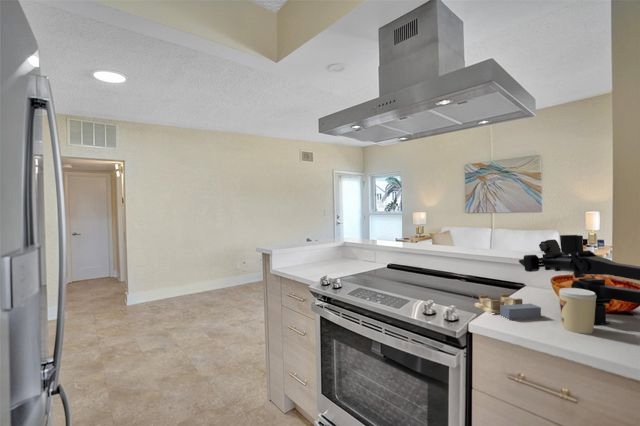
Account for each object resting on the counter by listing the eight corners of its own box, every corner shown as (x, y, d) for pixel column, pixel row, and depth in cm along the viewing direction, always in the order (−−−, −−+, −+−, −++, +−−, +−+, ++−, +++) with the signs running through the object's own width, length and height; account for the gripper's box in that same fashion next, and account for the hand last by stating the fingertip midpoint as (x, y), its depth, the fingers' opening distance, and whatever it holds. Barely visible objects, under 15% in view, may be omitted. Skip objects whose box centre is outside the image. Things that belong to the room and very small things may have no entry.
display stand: (527, 312, 118) (527, 299, 118) (491, 314, 116) (491, 302, 116) (507, 304, 128) (507, 292, 128) (475, 306, 126) (474, 294, 126)
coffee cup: (561, 321, 108) (561, 286, 108) (598, 328, 101) (598, 290, 101) (556, 329, 101) (555, 291, 101) (594, 337, 95) (594, 297, 94)
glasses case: (540, 318, 111) (540, 307, 111) (509, 320, 110) (509, 309, 110) (530, 314, 116) (530, 303, 116) (500, 316, 114) (500, 305, 114)
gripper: (582, 239, 119) (545, 239, 135) (540, 242, 116) (507, 242, 131) (586, 269, 119) (548, 266, 134) (544, 273, 115) (510, 269, 130)
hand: (528, 260), depth 132 cm, fingers open, 9 cm apart
